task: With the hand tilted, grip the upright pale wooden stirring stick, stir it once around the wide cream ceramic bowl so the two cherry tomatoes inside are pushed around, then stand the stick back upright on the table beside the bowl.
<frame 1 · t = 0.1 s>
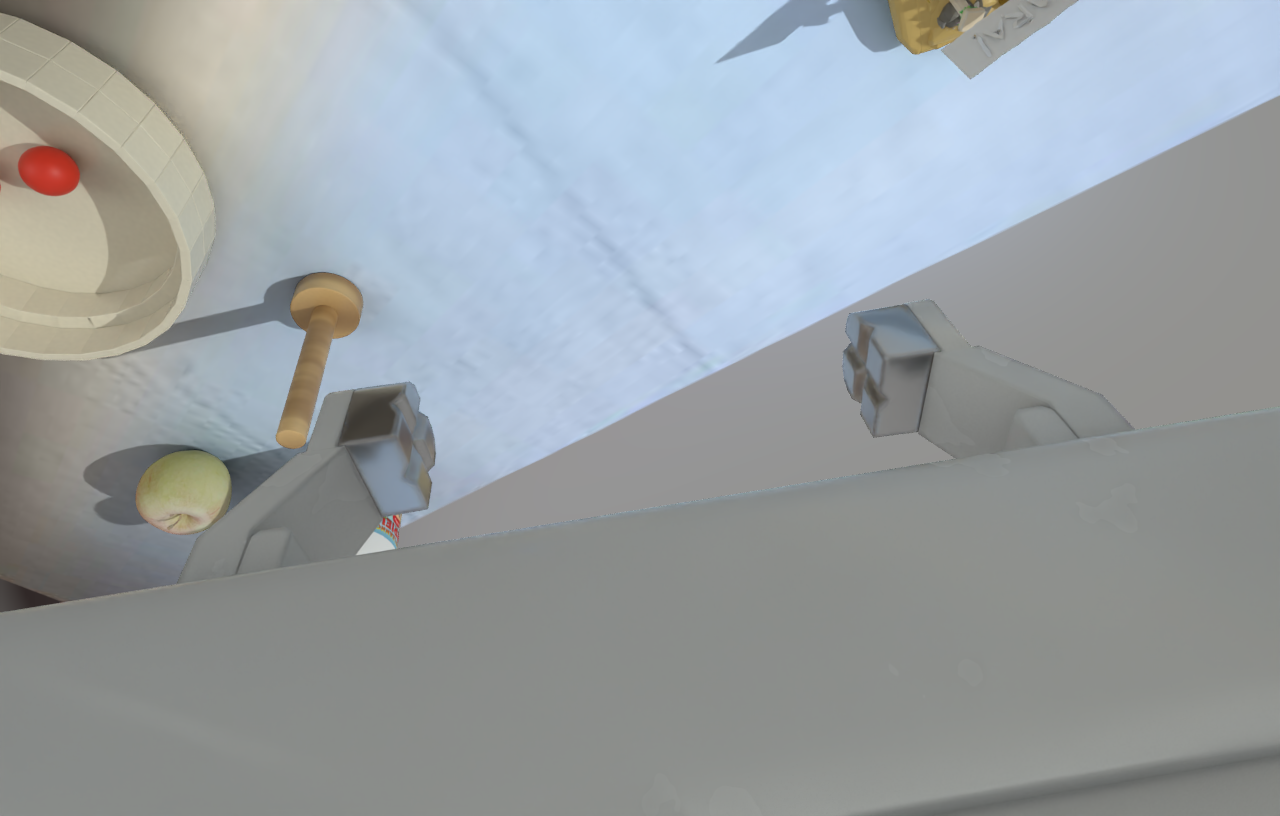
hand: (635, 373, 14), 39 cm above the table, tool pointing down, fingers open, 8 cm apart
milk bottle: (367, 457, 71), on the table
bowl: (36, 173, 47), on the table
fruit: (197, 461, 69), on the table
tomato a: (49, 171, 45), point 2 cm above the table, touching bowl
stick: (329, 298, 57), on the table
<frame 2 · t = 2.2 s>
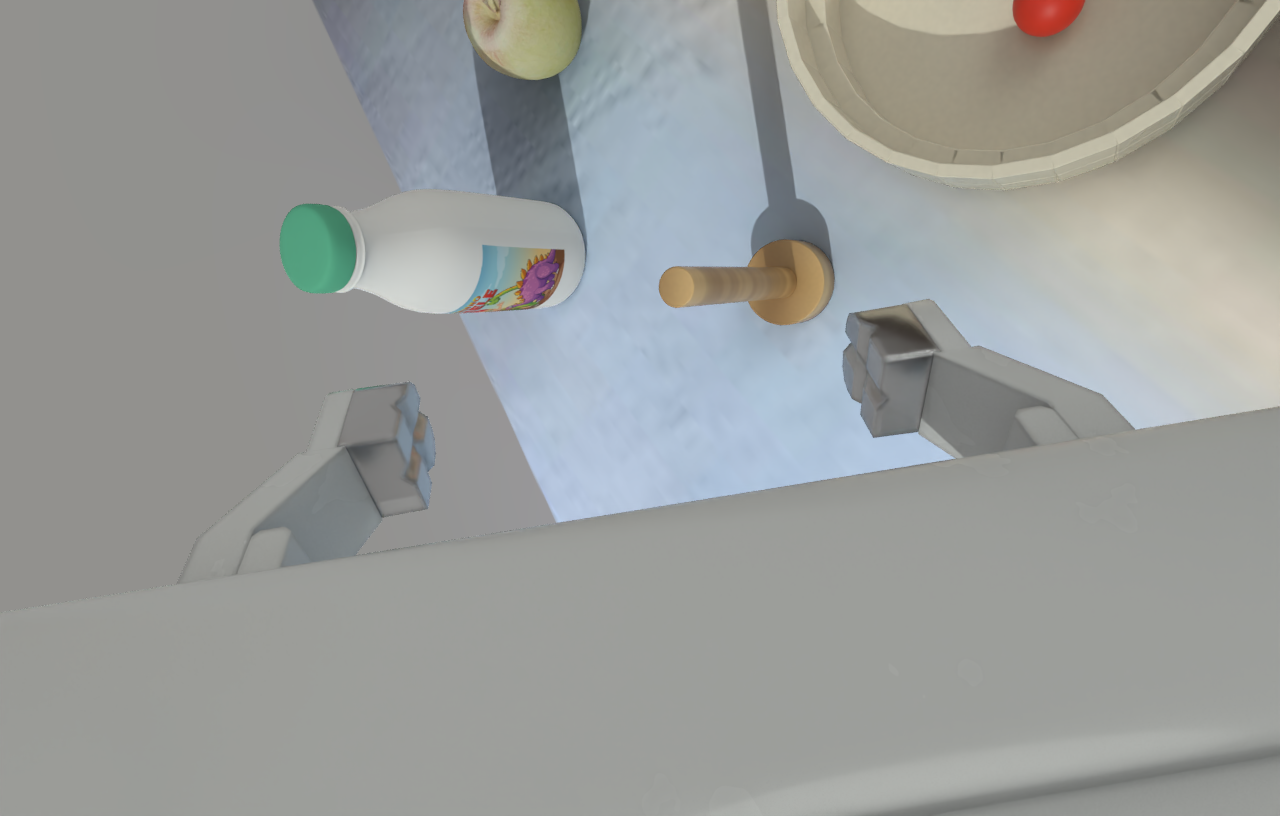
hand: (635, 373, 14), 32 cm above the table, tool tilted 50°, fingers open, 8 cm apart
milk bottle: (549, 255, 54), on the table
fruit: (558, 33, 51), on the table
tomato a: (1048, 0, 34), point 2 cm above the table, touching bowl
stick: (794, 282, 45), on the table
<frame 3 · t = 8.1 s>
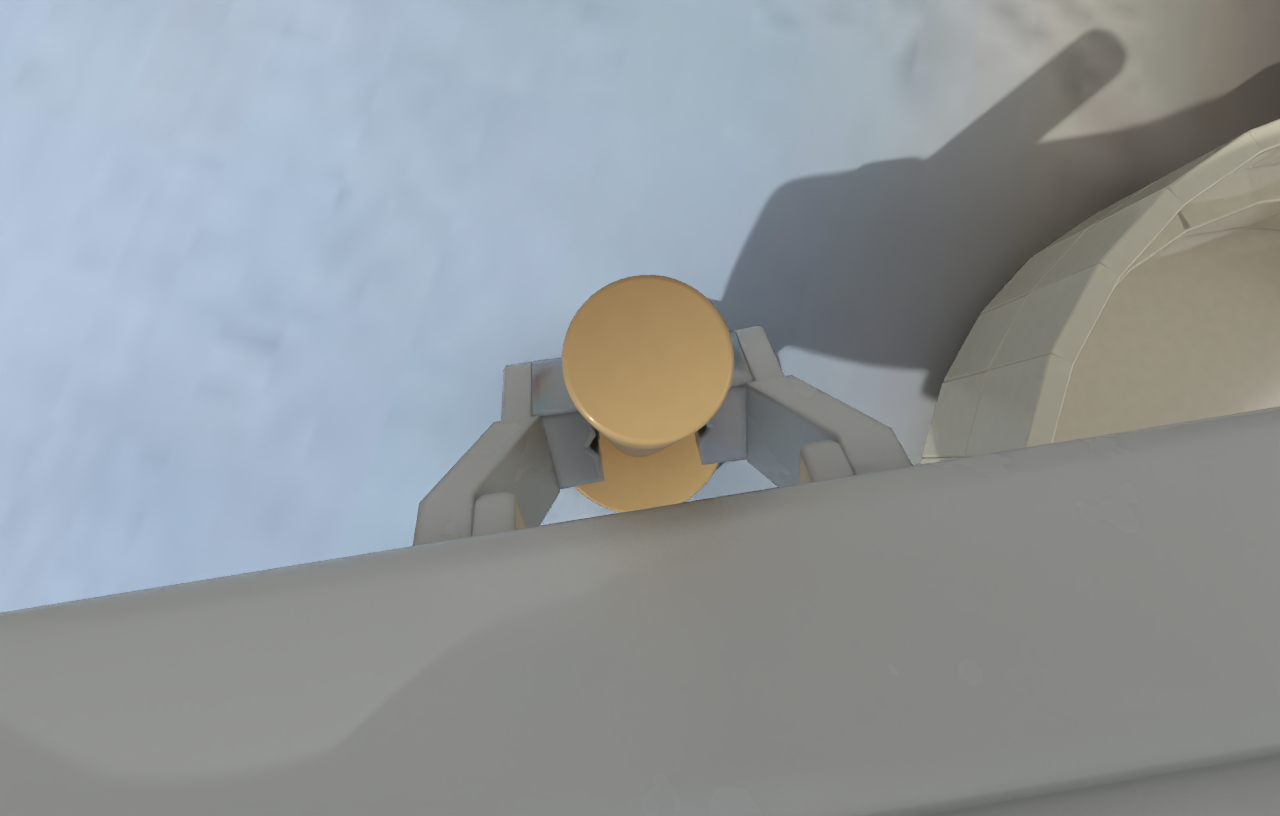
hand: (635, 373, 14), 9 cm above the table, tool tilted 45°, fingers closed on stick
bowl: (1250, 523, 22), on the table
stick: (638, 428, 22), on the table, touching gripper
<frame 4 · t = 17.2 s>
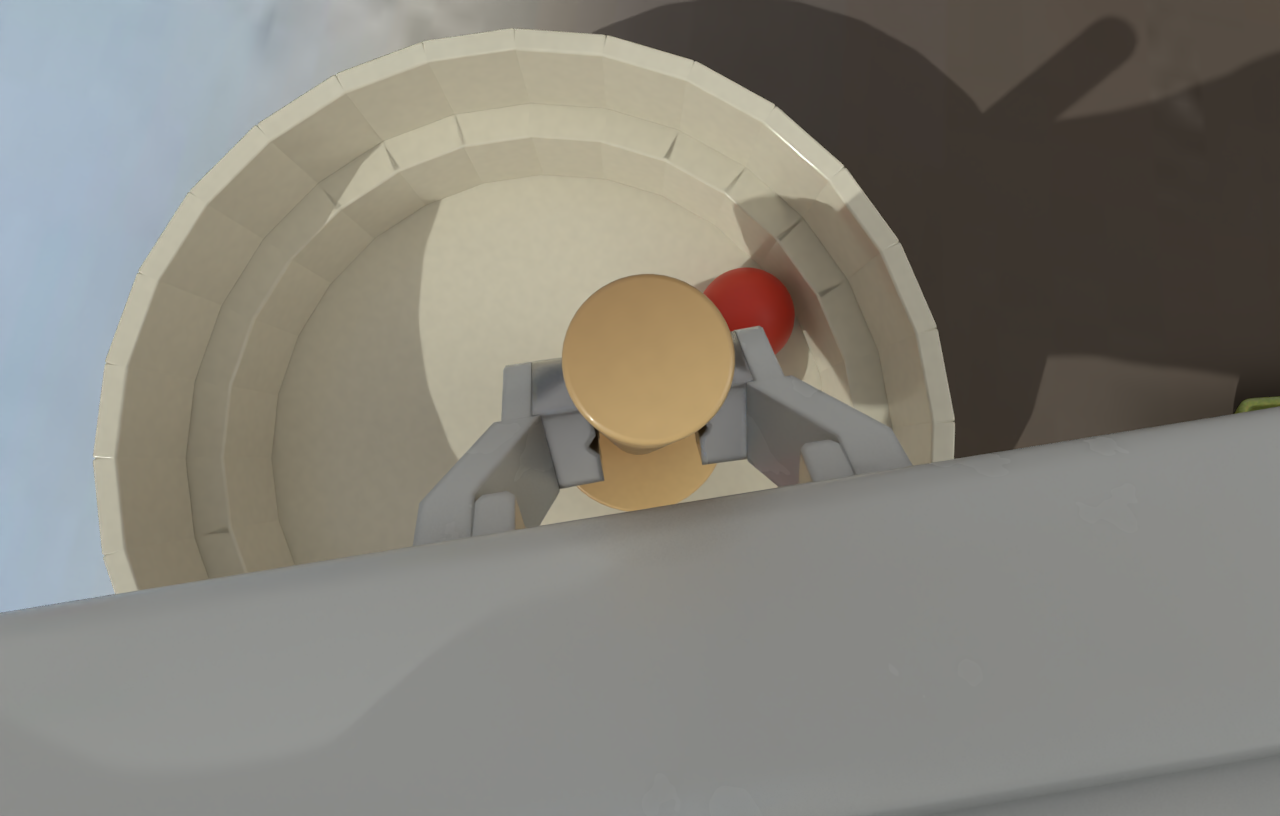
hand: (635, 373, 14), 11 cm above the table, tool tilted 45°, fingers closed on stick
bowl: (555, 446, 24), on the table
tomato b: (745, 316, 22), point 2 cm above the table, tilted 160°, touching bowl
stick: (638, 426, 22), point 2 cm above the table, touching gripper
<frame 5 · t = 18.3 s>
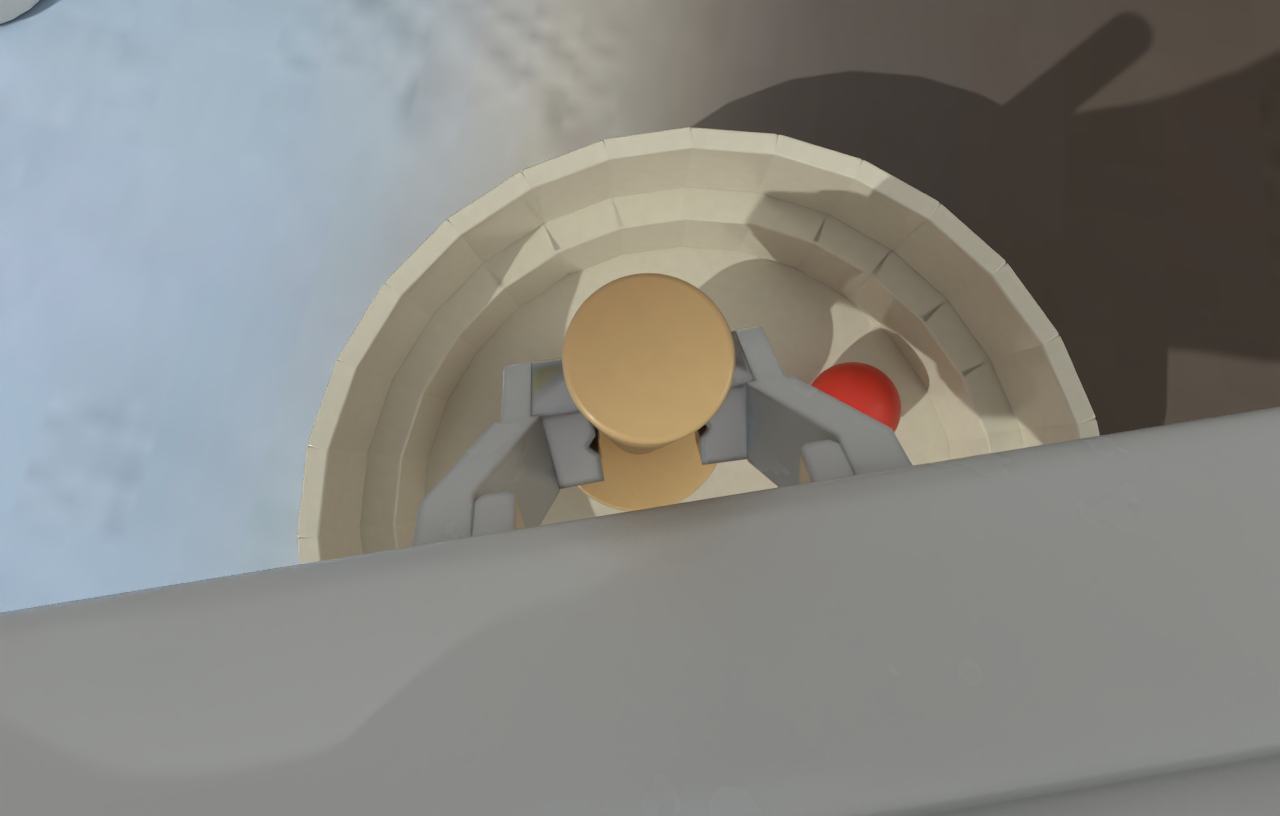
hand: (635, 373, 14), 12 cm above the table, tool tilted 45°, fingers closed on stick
bowl: (689, 507, 25), on the table
tomato b: (851, 408, 23), point 2 cm above the table, tilted 129°, touching bowl
stick: (638, 425, 22), point 3 cm above the table, touching gripper
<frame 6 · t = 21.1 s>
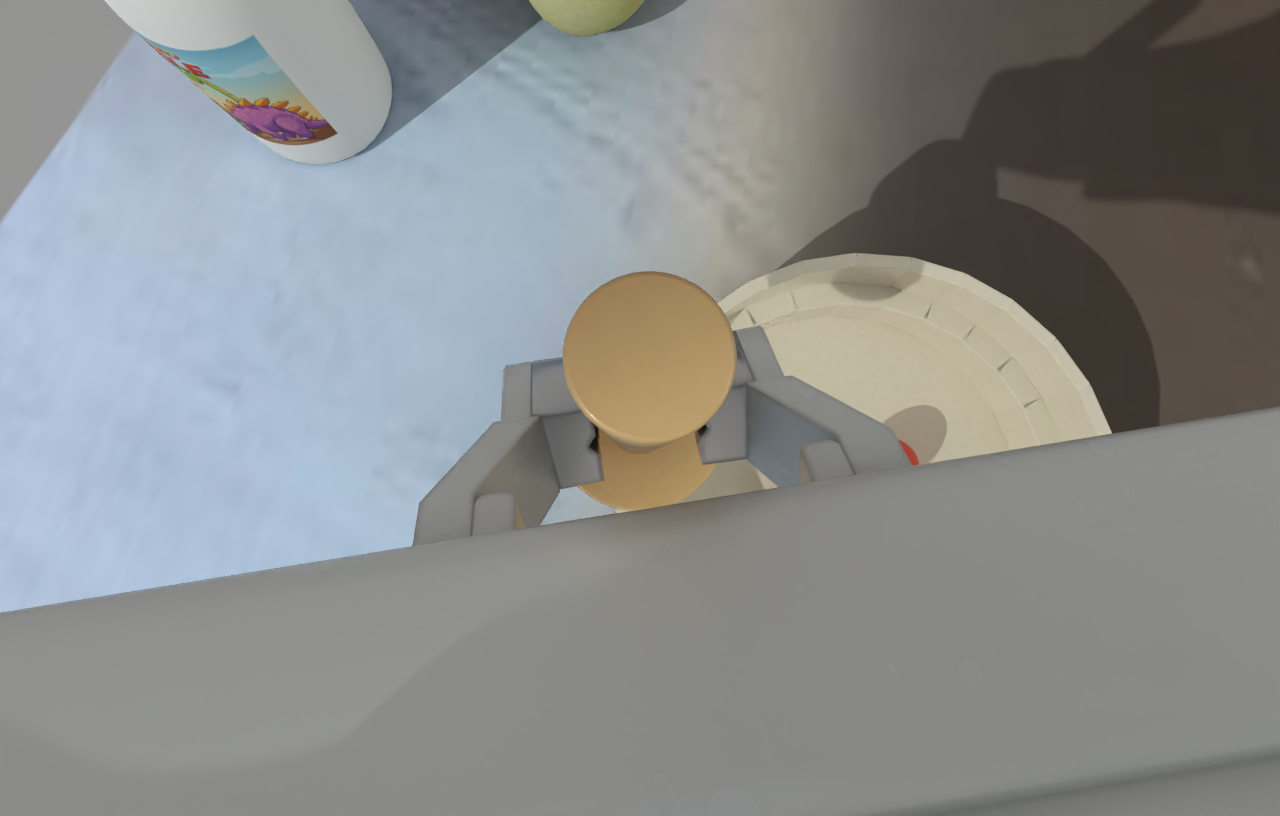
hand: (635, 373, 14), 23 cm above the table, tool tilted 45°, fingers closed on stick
milk bottle: (324, 100, 38), on the table
bowl: (829, 496, 37), on the table
stick: (638, 425, 22), point 15 cm above the table, touching gripper
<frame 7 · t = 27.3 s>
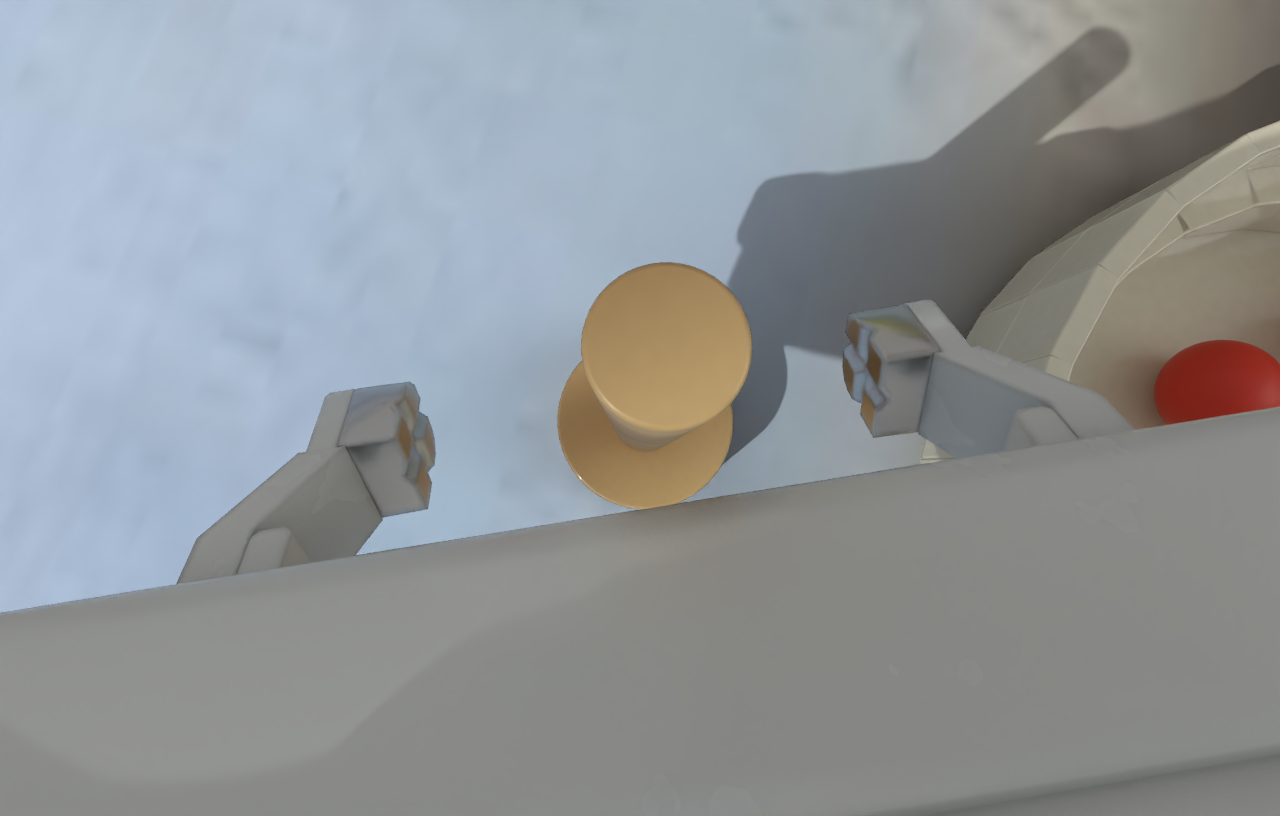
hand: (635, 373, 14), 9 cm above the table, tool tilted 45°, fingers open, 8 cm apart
bowl: (1248, 524, 22), on the table
tomato a: (1218, 393, 20), point 2 cm above the table, tilted 105°, touching bowl
stick: (644, 424, 22), on the table
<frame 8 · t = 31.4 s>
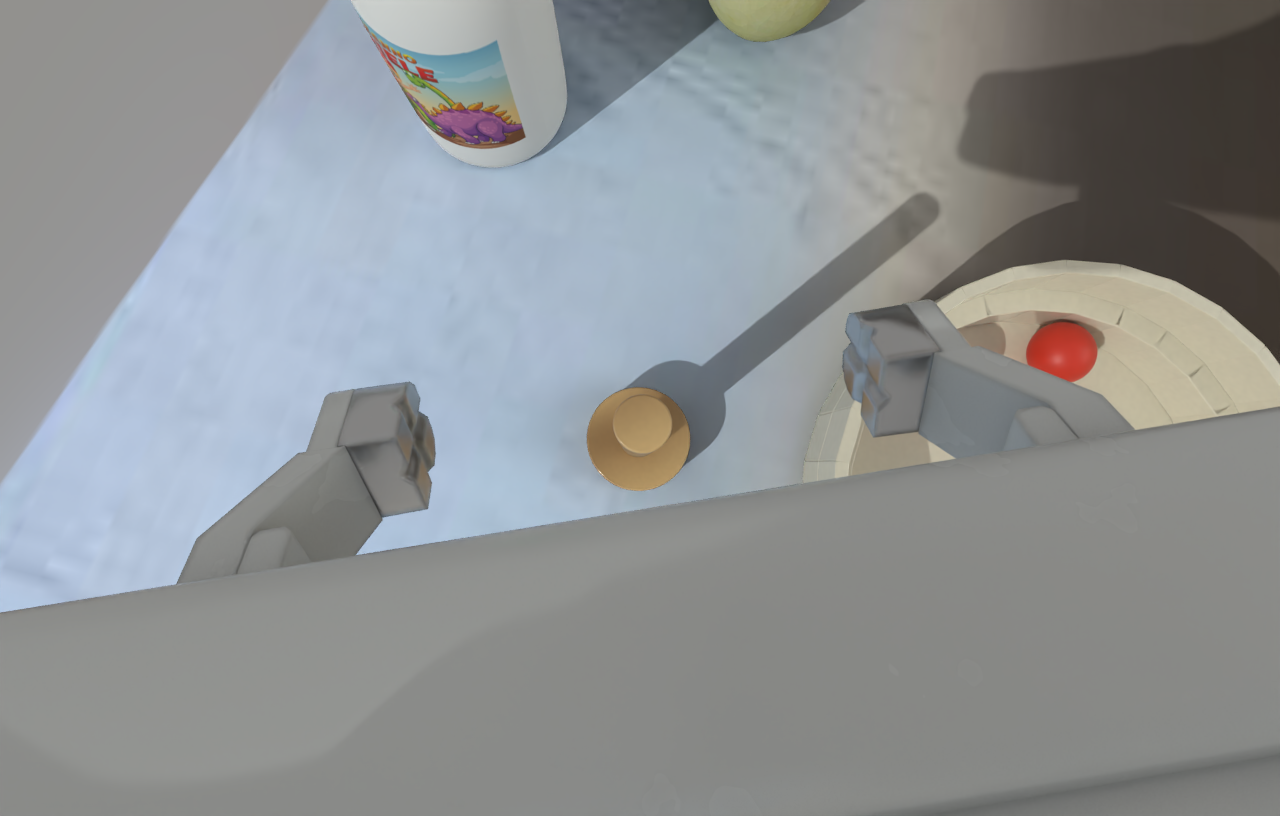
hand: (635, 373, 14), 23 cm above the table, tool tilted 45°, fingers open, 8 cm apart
milk bottle: (496, 103, 38), on the table
bowl: (1006, 501, 37), on the table
tomato b: (1061, 353, 35), point 2 cm above the table, tilted 153°, touching bowl
stick: (638, 440, 37), on the table
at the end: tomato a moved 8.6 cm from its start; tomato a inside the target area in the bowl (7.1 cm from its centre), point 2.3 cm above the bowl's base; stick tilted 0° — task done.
